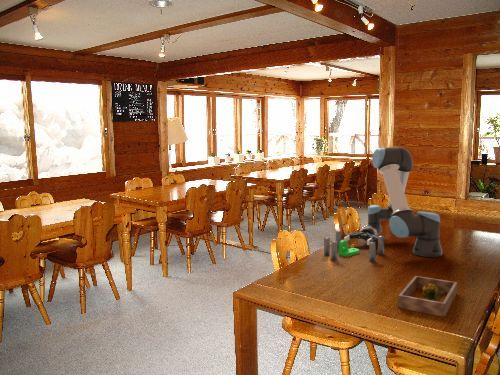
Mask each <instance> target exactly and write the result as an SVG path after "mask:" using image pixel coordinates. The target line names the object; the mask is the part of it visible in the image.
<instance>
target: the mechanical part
mask: <svg viewBox="0 0 500 375" xmlns="http://www.w3.org/2000/svg"><path fill="white" fill-rule="evenodd" d="M359 253H360V249H359V248H356V247H350V248H349V243H348V241H344V239H341V241H340V242H339V248H338V255H339V256H343V257H346V258H347V257H351V256H354V255H359Z"/></svg>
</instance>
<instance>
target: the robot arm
mask: <svg viewBox="0 0 500 375" xmlns="http://www.w3.org/2000/svg"><path fill="white" fill-rule="evenodd" d="M371 162H372V166H373V168H375V169H378V173H379V174H381V175H382V176H383V180H384V184H385V188H386V191H387V195H388V198H389V201H388V205H387V207H383V208H382V207H381V206H380V205H378V204H372V205H369V206H368V207H367V208H368V209H367V226H366V227H365V228H364V229H362V230H361V231H360V232H356V231H354V232H350V233H344V237H343V240H344V241H347V242H348V241H350V240H352V239H353V240H354V239H355V240H356V239H358V240H364V241H365V242H366V245H367V246H369V242H376V244H378V236H380V234H382V231H383V227H382V225H381V221H389V223H388V225H389V229H390V232H391V233H392V234H393V235H394V236H395V237H396V238H410V237H411V238H412V237H416V240H415V242H414V246H413V248H412V253H413V254H414V255H416V256H419V257H424V258H437V257H442V256H443V248H442V246H441V242H440V233H441V232H440V228H441V225H440V224H441V216H440V214H438V213H436V212H432V211H431V212H430V211H423V210H422V211H420V210H418V211H417V212H416V214H415V213H414V211H413V209H411V208H410V206H409V203H408V201H407V200H408V199H407V197H406V193H405V191H406V187H407V185H408V184H407V183H408V179H409V175H410V173H411V172H412V171H413V167H414V160H413V155H412V154H411V152H410V151H409V150H408V149H407V148H405V147H403V146H396V147H393V146H391V147H379V148H375V150H374V151H373V153H372V158H371Z"/></svg>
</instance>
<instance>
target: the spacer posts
mask: <svg viewBox="0 0 500 375" xmlns="http://www.w3.org/2000/svg"><path fill="white" fill-rule="evenodd" d="M377 237H378V243H376V242H369V245H368V247H369V248H368V251H369V252H368V261H369V262H371V263H372V262H373V263H375V262H376V251H377V254H378V255H380V256H381V255H382V256H383V255H385V235H378V236H377ZM341 240H342V231H341V230H335V240H332V241H331V238H330V237H328V236H325V237H323V256H324V257H330V256H331V259H330V260H331V261H333V262H335V261H338V252H339V242H340V241H341ZM330 243H331V244H330ZM376 244H377V250H376ZM330 251H331V252H330Z"/></svg>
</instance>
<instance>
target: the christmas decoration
mask: <svg viewBox="0 0 500 375" xmlns="http://www.w3.org/2000/svg"><path fill="white" fill-rule="evenodd" d="M422 281H423V280H422ZM423 283H424V281H423ZM424 284H425V283H424ZM426 284H427V285H426ZM426 284H425V285H424V288H423V289H422V290H421V289H420V292H422V295H421V296H420V297H421V298H423V299H426V300H431V301H437V302H440V300H442V299H444V297H443V293H445V291H444V292H443V291H442V292H439V290H440V289H438V288H437V287H438V286H435V285H436V284H433V282H432V284H428V283H426ZM440 291H441V290H440Z"/></svg>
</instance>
